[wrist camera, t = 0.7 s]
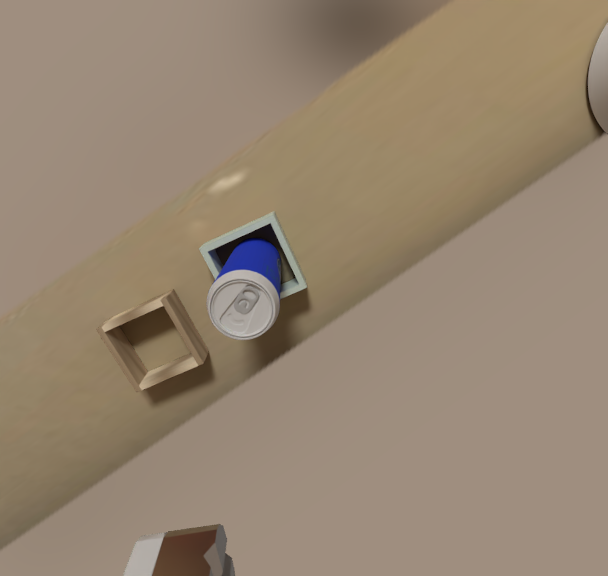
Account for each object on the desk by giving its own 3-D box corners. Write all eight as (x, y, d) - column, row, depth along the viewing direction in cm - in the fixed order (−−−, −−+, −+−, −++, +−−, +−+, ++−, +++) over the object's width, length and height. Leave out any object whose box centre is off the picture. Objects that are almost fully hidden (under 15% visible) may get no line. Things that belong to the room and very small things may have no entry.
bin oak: (173, 289, 43) (165, 297, 40) (208, 350, 45) (203, 363, 42) (108, 318, 43) (95, 329, 41) (146, 378, 46) (136, 392, 43)
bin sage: (274, 211, 41) (273, 214, 38) (305, 279, 43) (307, 287, 40) (204, 243, 42) (198, 248, 39) (239, 308, 44) (235, 318, 41)
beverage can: (265, 294, 44) (256, 356, 29) (222, 270, 43) (191, 322, 28) (290, 252, 42) (293, 296, 28) (246, 227, 41) (226, 259, 27)
